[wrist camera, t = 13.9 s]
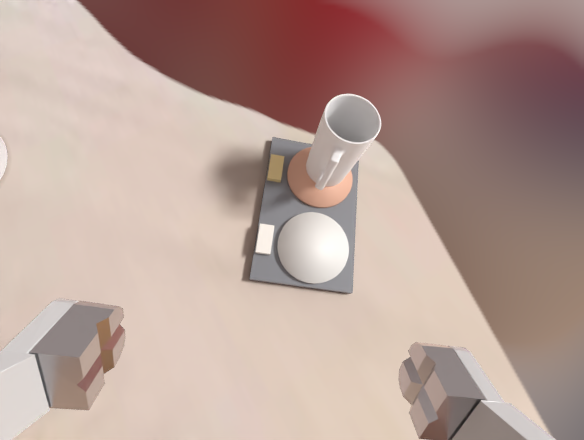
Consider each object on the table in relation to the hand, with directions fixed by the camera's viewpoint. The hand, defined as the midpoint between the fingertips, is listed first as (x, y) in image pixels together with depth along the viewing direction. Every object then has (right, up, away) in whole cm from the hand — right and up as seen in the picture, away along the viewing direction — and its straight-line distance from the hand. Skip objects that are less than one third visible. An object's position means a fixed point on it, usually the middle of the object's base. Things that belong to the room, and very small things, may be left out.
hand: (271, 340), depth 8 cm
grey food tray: (+3, +5, +35) cm, 36 cm away
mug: (+5, +10, +36) cm, 38 cm away
